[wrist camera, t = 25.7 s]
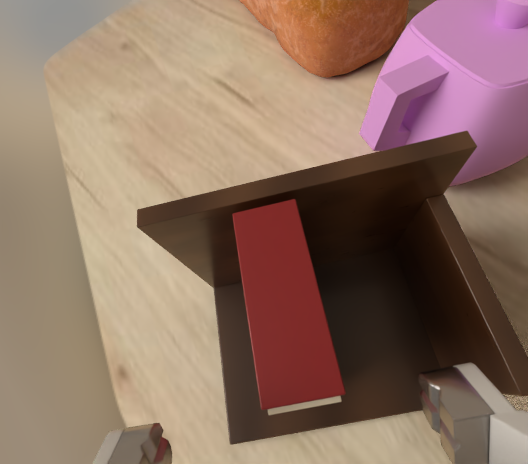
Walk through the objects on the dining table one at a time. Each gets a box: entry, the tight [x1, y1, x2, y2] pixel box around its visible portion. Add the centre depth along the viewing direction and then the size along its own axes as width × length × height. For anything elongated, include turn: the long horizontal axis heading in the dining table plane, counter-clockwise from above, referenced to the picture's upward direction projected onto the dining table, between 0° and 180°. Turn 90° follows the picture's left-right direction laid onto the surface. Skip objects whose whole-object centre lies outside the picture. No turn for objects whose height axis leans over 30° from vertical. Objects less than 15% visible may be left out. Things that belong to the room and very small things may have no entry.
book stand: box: [137, 131, 528, 445], centre depth 18 cm, size 16×12×13 cm
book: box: [232, 199, 346, 415], centre depth 17 cm, size 3×8×12 cm, turn 10°
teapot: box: [359, 0, 528, 187], centre depth 23 cm, size 20×12×13 cm, turn 117°
